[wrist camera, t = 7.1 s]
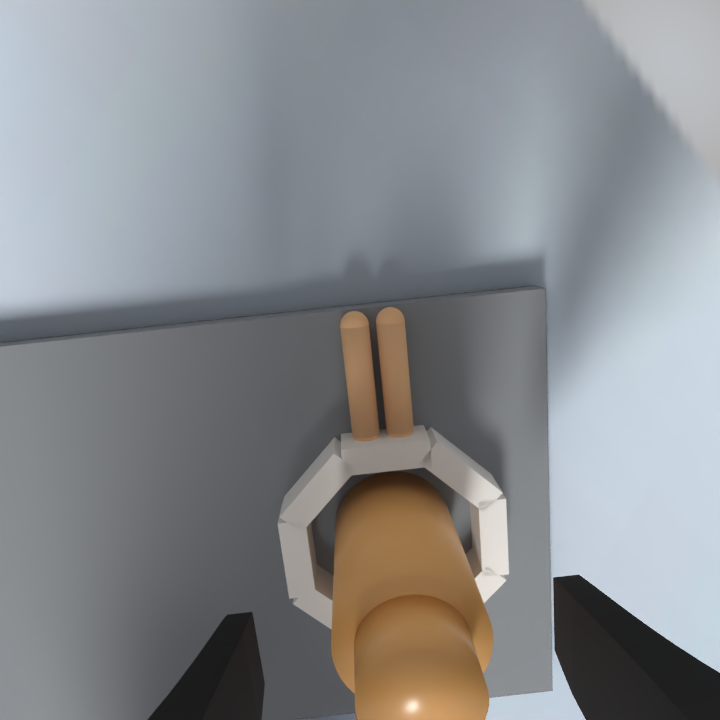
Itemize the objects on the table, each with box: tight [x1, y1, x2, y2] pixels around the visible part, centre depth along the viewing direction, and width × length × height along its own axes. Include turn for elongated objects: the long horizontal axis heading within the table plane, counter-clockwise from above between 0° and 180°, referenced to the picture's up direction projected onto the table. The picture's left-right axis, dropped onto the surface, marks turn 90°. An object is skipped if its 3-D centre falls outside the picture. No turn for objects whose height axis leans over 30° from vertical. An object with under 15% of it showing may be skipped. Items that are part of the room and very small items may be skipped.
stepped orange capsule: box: [331, 471, 493, 720], centre depth 13 cm, size 4×4×6 cm
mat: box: [0, 286, 553, 720], centre depth 16 cm, size 14×20×2 cm
